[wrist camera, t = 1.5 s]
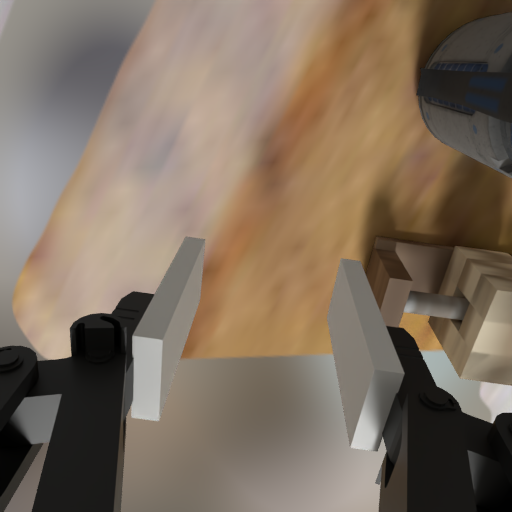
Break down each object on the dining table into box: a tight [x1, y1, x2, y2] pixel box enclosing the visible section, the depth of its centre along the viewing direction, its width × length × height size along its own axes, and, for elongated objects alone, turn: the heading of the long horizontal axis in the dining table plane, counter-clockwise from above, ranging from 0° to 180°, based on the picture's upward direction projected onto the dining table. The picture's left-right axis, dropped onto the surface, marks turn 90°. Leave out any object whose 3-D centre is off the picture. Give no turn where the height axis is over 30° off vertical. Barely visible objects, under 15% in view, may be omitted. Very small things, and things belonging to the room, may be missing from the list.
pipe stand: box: [366, 236, 512, 327], centre depth 41 cm, size 22×7×7 cm, turn 83°
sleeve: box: [428, 246, 512, 386], centre depth 38 cm, size 5×9×9 cm, turn 172°
